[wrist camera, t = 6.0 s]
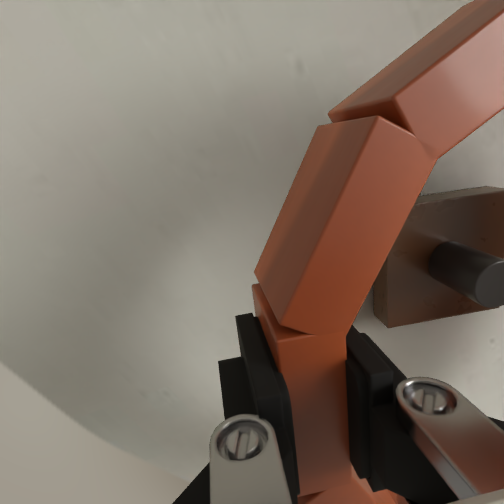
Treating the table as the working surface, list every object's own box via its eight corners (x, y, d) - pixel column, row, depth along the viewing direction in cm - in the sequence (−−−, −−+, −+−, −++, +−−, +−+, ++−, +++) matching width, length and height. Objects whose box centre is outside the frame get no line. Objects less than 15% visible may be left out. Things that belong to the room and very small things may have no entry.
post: (373, 315, 19) (424, 364, 14) (371, 202, 17) (428, 221, 13) (477, 296, 19) (556, 338, 15) (486, 185, 18) (578, 198, 13)
